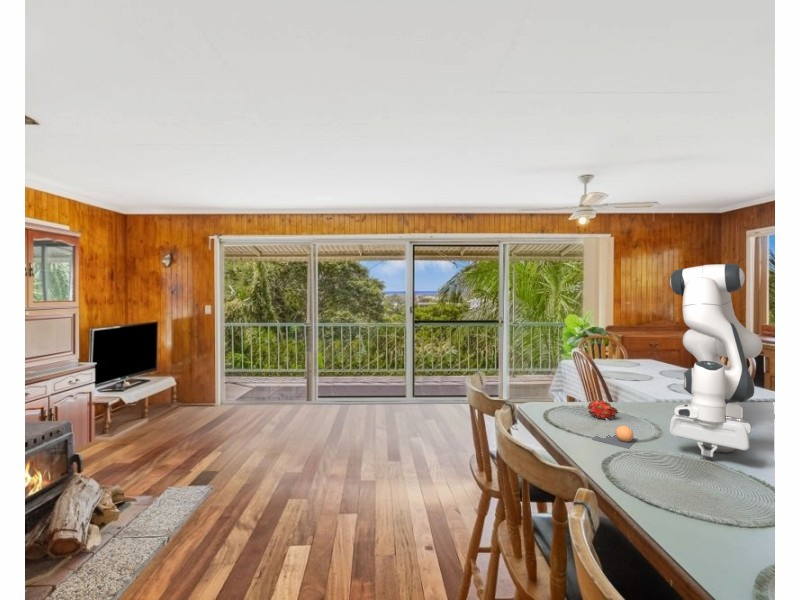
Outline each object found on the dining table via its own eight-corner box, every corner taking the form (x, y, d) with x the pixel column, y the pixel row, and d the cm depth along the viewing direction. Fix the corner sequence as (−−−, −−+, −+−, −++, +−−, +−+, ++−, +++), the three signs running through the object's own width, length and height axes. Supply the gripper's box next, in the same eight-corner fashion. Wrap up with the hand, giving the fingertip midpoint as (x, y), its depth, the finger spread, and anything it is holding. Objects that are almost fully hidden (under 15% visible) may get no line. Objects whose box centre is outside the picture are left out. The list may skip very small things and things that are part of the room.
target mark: (602, 431, 155) (602, 430, 155) (637, 439, 147) (637, 438, 147) (591, 439, 146) (591, 439, 146) (628, 448, 138) (628, 447, 138)
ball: (636, 427, 145) (633, 442, 145) (619, 421, 148) (616, 436, 149) (633, 431, 140) (630, 446, 141) (615, 425, 144) (612, 440, 144)
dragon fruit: (585, 418, 176) (615, 427, 169) (584, 411, 169) (615, 420, 163) (590, 401, 179) (620, 409, 172) (589, 393, 173) (620, 401, 166)
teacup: (728, 458, 131) (729, 433, 130) (691, 446, 140) (692, 423, 140) (749, 450, 137) (749, 427, 137) (712, 439, 147) (713, 418, 146)
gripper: (751, 417, 123) (750, 462, 123) (672, 404, 137) (671, 444, 137) (750, 422, 119) (749, 468, 119) (668, 408, 133) (668, 449, 133)
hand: (707, 455), depth 128 cm, fingers closed
